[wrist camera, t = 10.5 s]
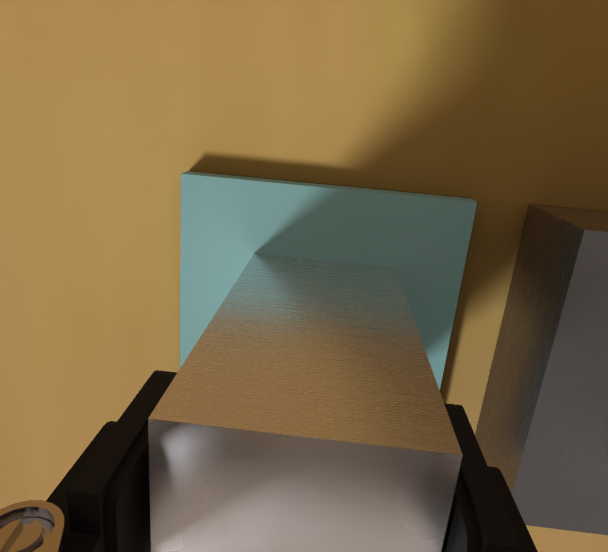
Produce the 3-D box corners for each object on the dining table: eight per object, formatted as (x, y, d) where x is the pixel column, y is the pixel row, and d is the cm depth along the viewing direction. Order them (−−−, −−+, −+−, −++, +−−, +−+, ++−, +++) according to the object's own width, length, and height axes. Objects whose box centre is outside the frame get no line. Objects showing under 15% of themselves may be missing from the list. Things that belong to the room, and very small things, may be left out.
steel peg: (395, 267, 17) (462, 455, 8) (376, 391, 19) (413, 675, 9) (254, 252, 17) (148, 418, 8) (247, 376, 19) (152, 639, 9)
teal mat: (471, 198, 17) (477, 202, 16) (423, 439, 20) (427, 452, 19) (188, 171, 17) (181, 173, 17) (185, 411, 20) (179, 422, 20)
